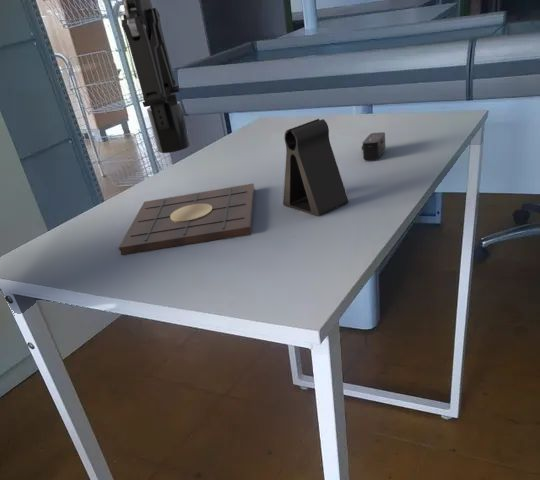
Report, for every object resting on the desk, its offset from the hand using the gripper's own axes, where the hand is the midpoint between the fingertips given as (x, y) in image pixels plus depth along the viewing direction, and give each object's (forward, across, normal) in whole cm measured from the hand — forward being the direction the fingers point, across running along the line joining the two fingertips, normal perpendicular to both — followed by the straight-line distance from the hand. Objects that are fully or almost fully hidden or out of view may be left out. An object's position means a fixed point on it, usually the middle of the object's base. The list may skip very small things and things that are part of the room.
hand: (174, 145), depth 83 cm
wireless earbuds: (+12, +19, -32) cm, 39 cm away
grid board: (+12, 0, 0) cm, 12 cm away
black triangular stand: (+12, -2, -20) cm, 23 cm away
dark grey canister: (0, 0, 0) cm, 0 cm away
